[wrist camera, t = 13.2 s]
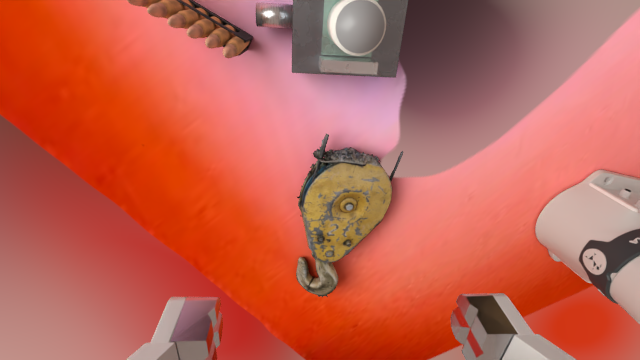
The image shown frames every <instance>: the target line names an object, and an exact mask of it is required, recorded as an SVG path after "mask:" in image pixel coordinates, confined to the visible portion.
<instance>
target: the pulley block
mask: <svg viewBox="0 0 640 360" xmlns="http://www.w3.org/2000/svg"><path fill="white" fill-rule="evenodd" d="M328 137H329V135H328V134H326V136H325V138H324V139H323V140H322V146H321V147H320V150H319V149H317V151H314V153H313V154H314V157H315V158H317V159H318V161H317V162H316V164H315V165H314V164H312V166H311V167H310V168H312V169H311V171H309V173H308V176H307V177H306V179H305V182H304V184H303V186H302V189H301V192H300V196H299V197H297V198H300V199H299V203H298V206H299V208H300V210H301V213H302V217H303V222H304V226H305V231H306V236H307V241H308V245H309V249H310V250H311V251H312V256H313V257H314V258H315V262H316V272H317V274H318V278H315V277H312V276H311V275H310V273H309V272H308V271H309V268H308V264H307V261H306V260H305V258H303V257H300V258H299V260H298V266H297V272H296V276H297V280H298V282H299V283H300V285H301V286H302V287H303V288H304V289H306V290H307V291H308V292H310V293H313V294H316V295H318V296H319V297H320V296H322V297H323V296H327V294H329V293H331V292H332V291H333V290H334V289H335V288H336V286H337V283H338V275H337V272H336V270H335V268H334V266H333V264H332V262H335V261H338V260H339V259H341V258H342V257H344V256H345V255H347V254H348V253H349V252H350V251H351V250H352V249H353V248H354V247H355V246H356V245H357V244H358V243H359V242H360V241H361V240H362V239H364V238H365V237H366V236H367V235H368V234H369V233H370V232H371V231H372V230H373V229H374V228H375V227H376V226H377V225H378V224H379V223H380V222H381V221H382V219H383V217H384V215H385V213H386V211H387V209H388V207H389V204H390V202H391V196H392V186H391V180H392V178H393V176H394V173H395V171H396V169H397V166H398V164H399V162H400V159H401V157H402V155H403V151H402V152H401V154H400V156H399V158H398V161H397V163H396V166H395V168H394V170H393V171H392V173H391V176H390V179H389V177H388V175H387V173H386V172H385V170H384V169H383V167H382V166H381V165H380V163H379V162H378V160H379V159H378V157H376V156H375V157H376V158H375V157H373V154H372V155H369V154H364V152H363V153H362V154H361V153H359V152H358V151H356V150H355V149H353V148H351V147H350V148H344V149H342V150H336V151H333V150H329V151H327V152H325V147H326V144H327V140H328ZM323 157H324V158H323ZM380 162H381V161H380ZM300 216H301V215H300ZM327 297H328V296H327Z"/></svg>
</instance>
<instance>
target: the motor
mask: <svg viewBox="0 0 640 360" xmlns="http://www.w3.org/2000/svg"><path fill="white" fill-rule="evenodd" d="M338 1H340V0H293V5H288V4H272V3H256V24H257V26H258V27H275V28H292V29H293V34H292V73H312V74H333V75H354V76H375V77H396V72H397V66H398V60H399V54H400V48H401V42H402V36H403V29H404V24H405V18H406V11H407V6H408V0H375V1H376V2H377V3H378V4H379V5H380V6H381V8H382V9H383V11H384V14H385V18H386V31H385V35H384V37H383V39H382V41H381V43H380V44H379V45H378V47H377V48H376V49H375V50H373V51H372V52H370V53H368V54H366V55H362V56H354V55H350V54H347V53H345V52H344V51H342V50H341V49H340V48H339V47H338V46H337V45H336V44H335V43H334V42H333V41H332V40H331V38H330V36H329V34H328V31H327V18H328V14H329V12H330V10H331V8H332V7H333V6H334V5H335V4H336V3H337V2H338Z"/></svg>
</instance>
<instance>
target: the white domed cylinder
mask: <svg viewBox="0 0 640 360" xmlns="http://www.w3.org/2000/svg"><path fill="white" fill-rule="evenodd" d="M327 31H328V34H329V36H330V38H331V40H332V41H333V42H334V43H335V44H336V45H337V46H338V47H339V48H340V49H341V50H342V51H344V52H345V53H347V54H350V55H354V56H362V55H366V54H368V53H370V52H372V51H373V50H375V49H376V48H377V47H378V45H379V44H380V43H381V41H382V39H383V37H384V35H385V31H386V18H385V14H384V11H383V9H382V8H381V6H380V5H379V4H378V3H377V2H376V1H375V0H340V1H338V2H337V3H336V4H335V5H334V6H333V7H332V8H331V10H330V12H329V14H328V18H327Z"/></svg>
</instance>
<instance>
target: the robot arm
mask: <svg viewBox="0 0 640 360" xmlns="http://www.w3.org/2000/svg"><path fill="white" fill-rule="evenodd" d="M535 233H536V237H537V239H538V241H539V242H540V243H541V244H542V245H544V246H545V247H546V248H547V249H548V252H549V255H550V257H551V258H552V259H554V260H555V261H562V262H563V263H564V264H565V265H567V266H568V267H569V268H570V269H571V270H573V271H574V272H575V273H576V274H578V275H579V276H580V277H581V278H582V279H584V280H585V281H586V282H588V283H592V284H593V285H594V286H596V287H597V289H598V290H599V291H600V292H601V293H602V294H603V295H604V296H606V297H607V298H608V299H610V300H611V301H612V302H614V303H617V304H619V305H620V306H621V307H622V308H623V309H624V310H625V311H626V312H627V313H628V314H630V316H632V317H633V318H634V319H635V320H636V321H637V322H638V323H639V324H640V178H636V177H632V176H628V175H623V174H619V173H615V172H611V171H606V170H597V171H595V172H594V173H592V174H591V175H590V176H588V177H587V178H586V179H585V180H584V181H582V182H581V183H579V184H577V185H575V186H573V187H571V188H569V189H567V190H565V191H563V192H562V193H560V194H559V195H557V196H556V197H555V198H553V199H552V200H551V201H550V202H549V203H548V204H547V205H546V206H545V208H544V209H543V210H542V212H541V213H540V215H539V217H538V219H537V222H536V227H535ZM456 302H457V304H458V307H457V308H456V309H454V310H453V312H452V315H451V327H452V331H453V333H454V336H455V338H456V339H457V340H458V341H459V342H460V343H461V344H463V348H462V353H463V355H464V357H465V359H466V360H576V359H575V358H573V357H572V356H570V355H569V354H567V353H566V352H564V351H563V350H561V349H560V348H558V347H557V346H555V345H554V344H552V343H551V342H549V341H548V340H546V339H545V338H543V337H542V336H541V335H539V334H534V333H533V332H532V330H531V329H530V328H529V326H528V325H527V323H526V322H525V320H524V319H523V318H522V316H521V315H520V313H519V312H518V311H517V309H516V308H515V306H514V305H513V304H512V302H511V301H510V299H509V298H508V297H507V296H506V295H505V294H503V293H499V294H487V293H486V294H461V295H459V296H458V298H457V301H456ZM220 306H221V303H220V298H219V297H171V298H170V299H169V301H168V302H167V305H166V307H165V309H164V312H163V315H162V317H161V319H160V322H159V324H158V326H157V329H156V331H155V333H154V336H153V338H152V341H151V343H145V344H144V345H143V346H142V347H140V348H139V349H138V350H137V351H136V352H135V353H133V354H132V355H131V356H130V357H129V358H128V359H126V360H217V354H216V348H217V347H218V346H219V345H220V341H221V336H222V328H223V320H222V319H223V318H222V314H221V313H220V312H219V311H220Z"/></svg>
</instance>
